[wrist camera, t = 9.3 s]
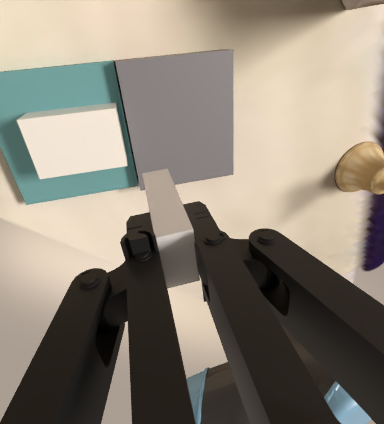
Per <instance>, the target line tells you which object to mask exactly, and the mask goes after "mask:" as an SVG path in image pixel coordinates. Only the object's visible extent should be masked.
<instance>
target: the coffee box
mask: <svg viewBox="0 0 384 424" xmlns="http://www.w3.org/2000/svg"><path fill="white" fill-rule="evenodd" d="M341 1H342V3H343V4H344V6H345V8H346V10H352V9H357V8H362V7H368V6H373V5H379V4H384V0H341Z"/></svg>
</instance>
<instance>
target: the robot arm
mask: <svg viewBox="0 0 384 424" xmlns="http://www.w3.org/2000/svg"><path fill="white" fill-rule="evenodd" d="M142 175H143V180H144V185H145V190H146V195H147V200H148V205H149V210H150V212H149V213H144V214H140V215H135V216H130V218H129V219H128V221H127V223H126V225H127V234H125V235H124V236H123V238H122V239H121V242H120V244H121V247H122V250H123V253H124V257H125V262H124V263H123V264H122V265H121V266H120V267H118V268H116V269H115V270H113V271H111V272H108V273H107V272H106V271H105V270H103V269H98V268H94V269H90V270H86V271H84V272H82V273H80V274H79V275H78V276H77V277H75V279H74V280H73V281H72V283H71V285H70V287H69V289H68V291H67V293H66V295H65V296H64V298H63V300H62V302H61V304H60V306H59V308H58V310H57V312H56V314H55V316H54V318H53V320H52V322H51V324H50V326H49V328H48V330H47V332H46V334H45V336H44V338H43V340H42V342H41V343H40V346H39V347H38V349H37V351H36V353H35V355H34V357H33V359H32V361H31V363H30V365H29V367H28V369H27V371H26V373H25V375H24V377H23V379H22V381H21V383H20V385H19V387H18V388H17V390H16V392H15V395H14V396H13V398H12V400H11V402H10V404H9V406H8V408H7V410H6V412H5V414H4V416H3V418H2V420H1V422H0V424H101V421H102V416H103V412H104V409H105V404H106V401H107V396H108V392H109V388H110V384H111V380H112V376H113V372H114V368H115V364H116V360H117V356H118V352H119V347H120V343H121V340H122V335H123V331H124V327H125V322H126V321H128V333H129V358H130V382H131V406H132V424H367V423H368V422H369V421H370V420H371V419H372V420H373V421H374V422H375V423H376V424H384V305H383V304H381V303H380V302H378V301H377V300H375V299H374V298H372V297H371V296H370V295H368V294H367V293H365V292H364V291H362V290H361V289H359V288H358V287H357V286H355V285H354V284H352V283H351V282H350V281H348V280H347V279H345V278H344V277H342V276H341V275H340V274H338V273H337V272H335V271H334V270H332V269H331V268H330V267H328V266H327V265H325V264H324V263H322V262H321V261H319V260H318V259H317V258H315V257H314V256H312V255H311V254H309V253H308V252H307V251H305V250H304V249H302V248H301V247H299V246H298V245H297V244H295V243H294V242H292V241H291V240H289V239H288V238H287V237H285V236H284V235H282V234H281V233H279V232H277V231H275V230H272V229H258V230H255V231H253V232H252V233H251V234H250V236H249V239H232V238H229V236H228V235H227V234H226V233H225V232H223V231H220V230H219V228H218V226H217V225H216V223H215V221H214V219H213V218H212V216H211V214H210V212H209V210H208V209H207V207H206V205H204V204H203V203H201V202H199V201H198V202H193V203H188V204H184V205H183V204H182V202H181V199H180V197H179V194H178V192H177V190H176V187H175V185H174V183H173V180H172V178H171V176H170V173H169V171H168V169H163V170H158V171H152V172H147V173H142ZM199 275H200V277H201V280H202V288H203V296H204V302H205V301H207V303H208V306H209V309H210V312H211V314H212V317H213V320H214V323H215V326H216V329H217V332H218V334H219V337H220V340H221V343H222V346H223V349H224V351H225V354H226V357H227V360H228V362H227V363H224V364H221V365H218V366H216V367H213V368H206V369H205V370H204V371H203V372H200V373H198V374H196V375H193V376H191V377H189V378H187V379H186V375H185V370H184V366H183V361H182V356H181V352H180V347H179V342H178V337H177V333H176V328H175V323H174V319H173V314H172V309H171V304H170V300H169V295H168V290H167V288H171V287H175V286H179V285H183V284H187V283H191V282H195V281H199V280H200V277H199Z"/></svg>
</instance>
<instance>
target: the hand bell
mask: <svg viewBox="0 0 384 424" xmlns="http://www.w3.org/2000/svg"><path fill="white" fill-rule="evenodd" d="M335 180H336V183H337V186H338V187H339V188H340V189H341V190H343V191H346V192H355V191H359V190H367V191H370V192H373V193H375V194H383V193H384V153H383V150H382V149H381V147H380V146H379V145H378V144H376V143H374V142H363V143H361V144H358V145H356V146H354V147H353V148H352V149H350V150H349V151H348V152H347V153H346V154H345V155H344V156H343V157H342V159H341V160H340V162H339V164H338V167H337V170H336V174H335Z"/></svg>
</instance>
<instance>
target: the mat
mask: <svg viewBox="0 0 384 424" xmlns="http://www.w3.org/2000/svg"><path fill="white" fill-rule="evenodd" d="M114 102H116V106H117V111H118V116H119V121H120V126H121V131H122V135H123V140H124V145H125V150H126V155H127V165H128V166H125V167H118V168H111V169H105V170H98V171H92V172H85V173H79V174H72V175H66V176H59V177H52V178H46V179H40V178H39V176H38V173H37V171H36V168H35V166H34V163H33V161H32V158H31V156H30V153H29V150H28V148H27V145H26V143H25V140H24V138H23V135H22V133H21V130H20V128H19V125H18V122H17V119H19V118H20V117H22V116H23V115H24V114H26V113H28V112H37V111H46V110H54V109H63V108H71V107H80V106H89V105H97V104H106V103H114ZM0 148H1V150H2V152H3V154H4V157H5V159H6V161H7V163H8V165H9V168H10V170H11V172H12V174H13V176H14V179H15V181H16V183H17V185H18V188H19V190H20V192H21V194H22V196H23V199H24V201H25V203H26V205H29V204H34V203H40V202H46V201H52V200H58V199H64V198H70V197H75V196H81V195H87V194H93V193H99V192H105V191H111V190H116V189H122V188H128V187H134V186H138V181H137V176H136V171H135V166H134V161H133V156H132V151H131V146H130V141H129V136H128V131H127V126H126V121H125V116H124V111H123V106H122V101H121V96H120V91H119V86H118V81H117V76H116V71H115V66H114V61H104V62H94V63H84V64H74V65H64V66H54V67H44V68H34V69H24V70H14V71H4V72H0Z"/></svg>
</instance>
